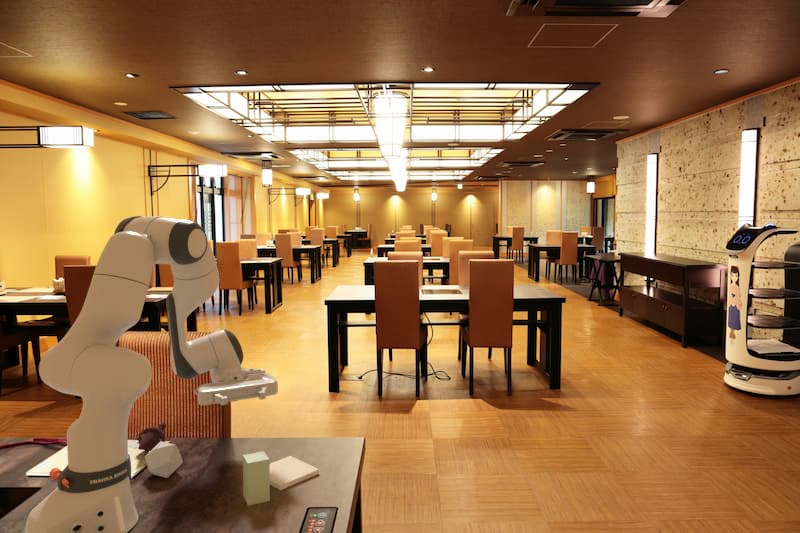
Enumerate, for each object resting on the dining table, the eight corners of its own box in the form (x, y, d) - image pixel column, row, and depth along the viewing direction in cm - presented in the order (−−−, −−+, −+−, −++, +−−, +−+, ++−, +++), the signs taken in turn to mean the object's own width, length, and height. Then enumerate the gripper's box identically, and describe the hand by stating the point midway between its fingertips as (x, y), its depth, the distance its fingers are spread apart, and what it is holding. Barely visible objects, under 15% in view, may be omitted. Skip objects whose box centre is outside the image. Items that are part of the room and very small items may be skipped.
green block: (248, 505, 124) (247, 463, 123) (243, 495, 128) (242, 455, 128) (269, 500, 126) (269, 459, 126) (264, 491, 131) (264, 451, 130)
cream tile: (280, 490, 131) (280, 485, 131) (252, 474, 139) (252, 470, 139) (318, 473, 140) (318, 469, 140) (290, 459, 148) (290, 455, 148)
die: (190, 473, 141) (183, 437, 145) (175, 470, 133) (168, 432, 137) (159, 485, 141) (153, 449, 145) (142, 483, 133) (136, 445, 137)
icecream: (156, 439, 145) (178, 423, 161) (129, 432, 145) (153, 417, 160) (149, 464, 145) (172, 446, 160) (122, 457, 145) (147, 440, 160)
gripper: (192, 377, 143) (200, 392, 131) (269, 368, 153) (283, 381, 141) (193, 401, 144) (200, 418, 132) (270, 390, 154) (283, 405, 141)
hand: (244, 399), depth 136 cm, fingers open, 8 cm apart
